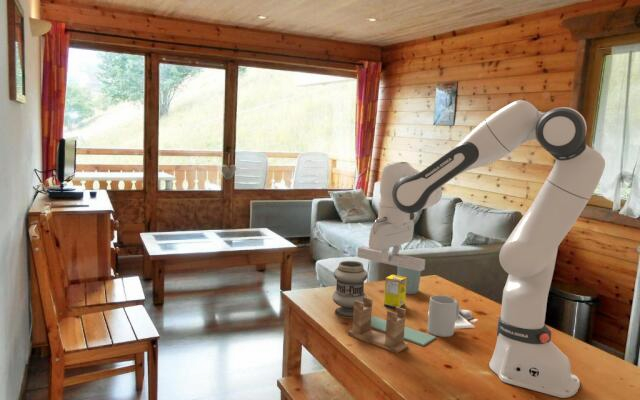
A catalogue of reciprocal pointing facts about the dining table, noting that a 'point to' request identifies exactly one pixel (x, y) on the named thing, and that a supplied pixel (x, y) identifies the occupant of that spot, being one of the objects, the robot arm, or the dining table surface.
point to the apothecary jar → (349, 287)
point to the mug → (442, 315)
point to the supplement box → (395, 291)
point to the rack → (363, 332)
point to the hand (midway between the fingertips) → (390, 260)
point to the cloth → (463, 319)
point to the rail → (392, 259)
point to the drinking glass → (410, 279)
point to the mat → (409, 333)
